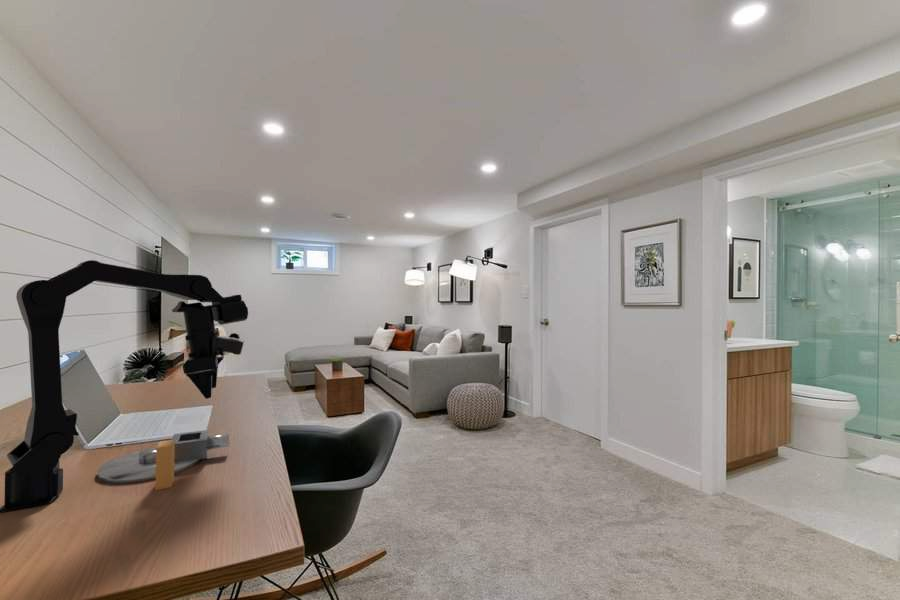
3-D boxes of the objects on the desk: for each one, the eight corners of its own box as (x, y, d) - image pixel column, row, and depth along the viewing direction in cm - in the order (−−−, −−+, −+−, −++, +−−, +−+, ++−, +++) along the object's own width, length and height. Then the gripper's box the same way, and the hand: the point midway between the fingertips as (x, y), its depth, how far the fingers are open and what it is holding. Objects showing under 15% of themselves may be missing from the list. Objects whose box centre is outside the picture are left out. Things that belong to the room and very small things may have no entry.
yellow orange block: (155, 489, 77) (156, 447, 77) (159, 482, 80) (159, 441, 81) (171, 487, 78) (171, 445, 78) (174, 479, 82) (174, 439, 82)
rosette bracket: (85, 490, 77) (85, 463, 77) (111, 459, 92) (111, 436, 93) (227, 467, 88) (228, 443, 88) (229, 442, 104) (229, 422, 104)
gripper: (236, 328, 89) (246, 395, 91) (241, 319, 106) (250, 376, 108) (176, 336, 85) (188, 407, 87) (192, 326, 102) (202, 385, 104)
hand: (211, 392), depth 96 cm, fingers open, 9 cm apart
